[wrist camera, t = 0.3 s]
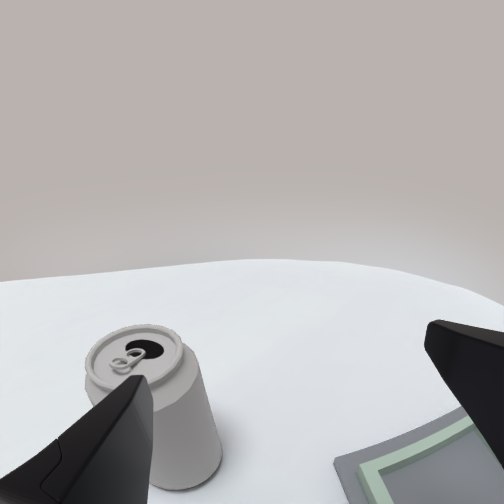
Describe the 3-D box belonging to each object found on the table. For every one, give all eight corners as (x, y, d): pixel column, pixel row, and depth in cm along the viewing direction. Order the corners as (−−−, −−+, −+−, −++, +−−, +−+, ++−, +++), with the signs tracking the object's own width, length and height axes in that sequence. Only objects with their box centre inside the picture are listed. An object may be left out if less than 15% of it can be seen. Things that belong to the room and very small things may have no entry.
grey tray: (549, 516, 5) (567, 502, 4) (398, 624, 4) (411, 625, 3) (467, 407, 20) (476, 389, 19) (333, 463, 19) (337, 448, 18)
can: (238, 440, 22) (216, 327, 18) (197, 508, 16) (140, 414, 11) (166, 415, 25) (127, 308, 21) (120, 469, 18) (52, 365, 14)
